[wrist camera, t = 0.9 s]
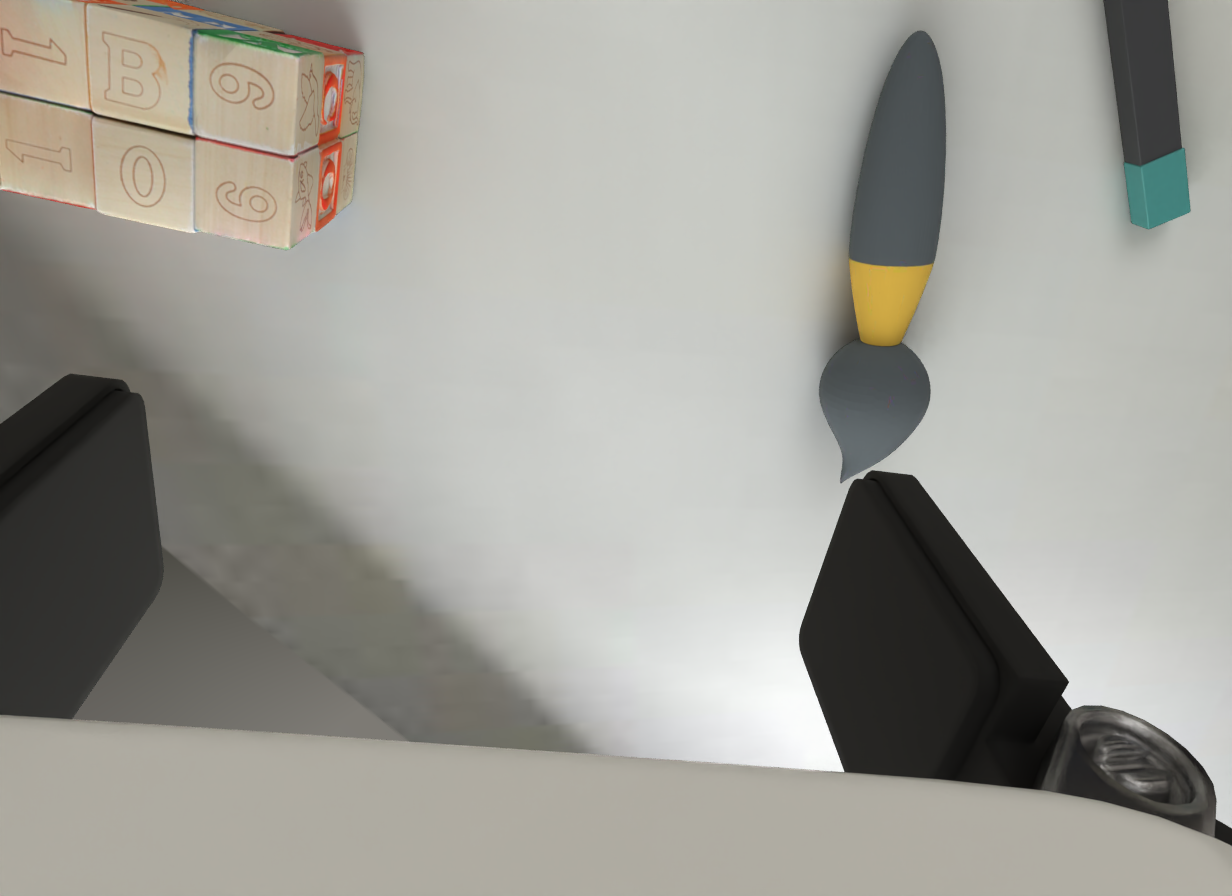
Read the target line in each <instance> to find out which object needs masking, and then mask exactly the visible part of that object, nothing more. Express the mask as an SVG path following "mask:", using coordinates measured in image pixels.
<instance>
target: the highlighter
mask: <svg viewBox="0 0 1232 896" xmlns="http://www.w3.org/2000/svg"><path fill="white" fill-rule="evenodd" d="M1104 6H1105V14H1106V21H1107V29H1108V37H1109V45H1110V52H1111V60H1112V68H1113V75H1114V83H1115V91H1116V98H1117V106H1118V114H1119V122H1120V129H1121V137H1122V145H1123V152H1124V160H1125V162H1124V169H1125V177H1126V184H1127V192H1128V200H1129V207H1130V215H1131V222H1132V224H1135V225H1138V226H1141V227H1143V228H1146V229H1151V228H1153V227H1156V226H1158V225H1161V224H1163V223H1165V222H1168V221H1170V220H1173V219H1175V218H1177V217H1180V216H1182V215H1185V214H1187V213H1189V212H1190V200H1189V189H1188V179H1187V168H1186V158H1185V149H1184V148H1182V144H1181V134H1180V124H1179V113H1178V103H1177V92H1176V82H1175V72H1174V61H1173V51H1172V40H1171V30H1170V20H1169V9H1168V0H1104Z"/></svg>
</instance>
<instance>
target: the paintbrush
mask: <svg viewBox="0 0 1232 896" xmlns="http://www.w3.org/2000/svg"><path fill="white" fill-rule="evenodd" d="M945 159H946V117H945V96H944V85H943V77H942V71H941V66H940V61H939V57H938V54H937V51H936V48H935V45H934V43H933V41H932V39H931V38H930V36H929V35H928V34H927V33H926V32H924V31H916V32H915V33H913V34H912V35H911V36H910V37H909V38H908V39H907V40H906V41H905V43H904V44H903V46H902V47H901V49H900V50H899V52H898V54H897V56H896V58H895V60H894V62H893V64H892V66H891V68H890V71H889V73H888V75H887V78H886V80H885V83H884V86H883V89H882V92H881V95H880V98H879V101H878V104H877V107H876V111H875V114H874V118H873V121H872V125H871V129H870V133H869V137H868V141H867V145H866V149H865V153H864V158H863V162H862V167H861V172H860V177H859V181H858V187H857V193H856V199H855V205H854V211H853V218H852V226H851V234H850V245H849V267H850V276H851V285H852V293H853V300H854V307H855V313H856V319H857V325H858V330H859V335H860V339H857V340H855V341H853V342H850V343H849V344H847V345H845V346H844V347H843V348H841V349H840V350H839V351H838V352H837V353H836V354H835V355H834V356H833V357H832V358H831V359H830V361H829V362H828V363H827V365H826V367H825V369H824V371H823V373H822V376H821V380H820V386H819V397H820V403H821V406H822V409H823V413H824V415H825V417H826V419H827V422H828V424H829V426H830V428H831V430H832V432H833V434H834V435H835V437H836V439H837V441H838V444H839V446H840V449H841V452H842V457H843V463H842V471H841V478H840V483H842V482H843V481H845V480H846V479H848V478H850V477H852V476H854V475H856V474H858V473H860V472H862V471H863V470H865V469H867V468H869V467H871V466H873V465H875V464H876V463H878V462H880V461H881V460H883V459H884V458H886V457H887V456H888V455H890V454H891V453H892V452H893V451H895V450H896V449H897V448H898V447H899V446H900V445H901V444H902V443H903V442H904V441H905V440H906V439H907V438H908V437H909V436H910V435H911V433H912V432H913V431H914V430H915V428H916V427H917V426H918V425H919V423H920V422H921V420H922V418H923V417H924V415H925V413H926V410H927V408H928V405H929V401H930V391H931V390H930V382H929V377H928V374H927V371H926V369H925V367H924V365H923V364H922V362H921V360H920V359H919V358H918V357H917V355H916V354H915V353H914V352H913V351H912V350H911V349H909V348H908V347H907V346H905V345H904V344H902V343H901V341H902V339H903V337H904V335H905V332H906V330H907V328H908V326H909V324H910V322H911V319H912V317H913V315H914V313H915V310H916V308H917V305H918V303H919V301H920V298H921V296H922V294H923V291H924V289H925V286H926V283H927V281H928V278H929V275H930V273H931V270H932V267H933V264H934V260H935V256H936V251H937V245H938V239H939V232H940V224H941V216H942V206H943V195H944V182H945Z"/></svg>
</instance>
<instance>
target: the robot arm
mask: <svg viewBox="0 0 1232 896" xmlns="http://www.w3.org/2000/svg"><path fill="white" fill-rule="evenodd" d="M163 572H164V567H163V557H162V548H161V540H160V531H159V523H158V514H157V506H156V497H155V489H154V480H153V472H152V463H151V455H150V446H149V438H148V429H147V421H146V412H145V405H144V401H143V399H142V397H141V395H139V394H138V393H131V392H130V390H129V388H128V386H127V384H126V383H125V382H124V381H123V380H118V379H110V378H102V377H93V376H85V375H77V374H69V375H67V376H64V377H63V378H62V379H60V380H59V381H58V382H56V383H55V384H54V385H52V386H51V387H50V388H48V389H47V390H46V391H44V392H43V393H42V394H40V395H39V396H38V397H36V398H35V399H34V400H32V401H31V402H30V403H28V404H27V405H25V406H24V407H23V408H21V409H20V410H19V411H17V412H16V413H15V414H13V415H12V416H11V417H9V418H8V419H7V420H5V421H4V422H3V423H1V424H0V896H1232V829H1231V828H1230V827H1228V826H1226V825H1225V824H1223V823H1221V822H1220V821H1218V820H1216V795H1215V790H1214V786H1213V783H1212V781H1211V780H1210V778H1209V776H1208V775H1207V773H1206V771H1205V770H1204V768H1203V766H1202V765H1201V764H1200V763H1199V762H1198V761H1197V760H1196V759H1195V758H1194V757H1193V756H1192V755H1191V753H1190V752H1189V751H1188V750H1187V749H1186V748H1184V747H1183V746H1182V745H1181V744H1179V743H1178V742H1177V741H1176V740H1174V739H1173V738H1172V737H1170V736H1169V735H1168V734H1167V733H1165V732H1163V731H1162V730H1160V729H1158V728H1157V727H1155V726H1153V725H1152V724H1150V723H1148V722H1147V721H1145V720H1143V719H1140V718H1138V717H1136V716H1133V715H1131V714H1129V713H1126V712H1124V711H1121V710H1117V709H1113V708H1109V707H1105V706H1085V705H1084V706H1081V707H1078V708H1076V709H1073V710H1072V709H1071V708H1070V707H1069V705H1068V704H1067V703H1066V701H1065V700H1064V698H1063V697H1062V696H1061V695H1062V693H1063V692H1064V690H1065V688H1066V686H1067V685H1068V683H1069V681H1068V680H1067V678H1066V677H1065V676H1064V674H1063V673H1062V672H1061V670H1060V669H1059V668H1058V666H1057V665H1056V664H1055V662H1054V661H1053V660H1052V658H1051V657H1050V656H1049V654H1048V653H1047V652H1046V650H1045V649H1044V648H1043V646H1042V645H1041V644H1040V642H1039V641H1038V640H1037V638H1036V637H1035V636H1034V634H1033V633H1032V632H1031V630H1030V629H1029V628H1028V627H1027V625H1026V624H1025V623H1024V621H1023V620H1022V619H1021V617H1020V616H1019V615H1018V613H1017V612H1016V611H1015V609H1014V608H1013V607H1012V605H1011V604H1010V603H1009V601H1008V600H1007V599H1006V597H1005V596H1004V595H1003V593H1002V592H1001V591H1000V589H999V588H998V587H997V585H996V584H995V583H994V581H993V580H992V579H991V577H990V576H989V575H988V573H987V572H986V571H985V569H984V568H983V567H982V565H981V564H980V563H979V561H978V560H977V559H976V557H975V556H974V555H973V553H972V552H971V551H970V549H969V548H968V547H967V545H966V544H965V543H964V541H963V540H962V539H961V537H960V536H959V535H958V533H957V532H956V531H955V529H954V528H953V527H952V525H951V524H950V523H949V521H948V520H947V519H946V517H945V516H944V515H943V513H942V512H941V511H940V509H939V508H938V507H937V505H936V504H935V503H934V501H933V500H932V499H931V497H930V496H929V495H928V493H927V492H926V491H925V489H924V488H923V487H922V485H921V484H920V483H919V481H918V480H917V479H916V478H915V477H914V476H913V475H907V474H898V473H890V472H882V471H873V470H872V471H870V472H868V473H867V474H866V476H865V477H864V479H856V480H854V482H853V483H852V484H851V486H850V488H849V491H848V494H847V497H846V499H845V502H844V505H843V508H842V511H841V514H840V516H839V519H838V522H837V525H836V528H835V531H834V533H833V536H832V539H831V542H830V545H829V548H828V550H827V553H826V556H825V559H824V562H823V565H822V567H821V570H820V573H819V576H818V579H817V582H816V585H815V587H814V590H813V593H812V596H811V599H810V602H809V604H808V607H807V610H806V613H805V616H804V619H803V621H802V624H801V628H800V634H799V646H800V652H801V655H802V658H803V660H804V663H805V666H806V669H807V671H808V674H809V677H810V679H811V682H812V685H813V687H814V690H815V693H816V696H817V698H818V701H819V704H820V706H821V709H822V712H823V715H824V717H825V720H826V723H827V725H828V728H829V731H830V733H831V736H832V739H833V742H834V744H835V747H836V750H837V752H838V755H839V758H840V760H841V763H842V766H843V769H844V771H845V772H833V771H819V770H806V769H792V768H779V767H765V766H752V765H739V764H725V763H711V762H696V761H682V760H667V759H653V758H638V757H624V756H609V755H594V754H580V753H565V752H551V751H536V750H522V749H507V748H493V747H478V746H463V745H449V744H434V743H420V742H405V741H390V740H375V739H362V738H347V737H332V736H318V735H304V734H290V733H275V732H260V731H246V730H231V729H215V728H199V727H183V726H168V725H152V724H137V723H121V722H106V721H90V720H73V719H72V718H73V717H74V715H75V714H76V713H77V711H78V710H79V708H80V707H81V705H82V704H83V702H84V701H85V699H86V698H87V697H88V695H89V694H90V692H91V691H92V689H93V687H94V686H95V685H96V683H97V682H98V680H99V679H100V678H101V676H102V675H103V673H104V672H105V670H106V669H107V667H108V666H109V664H110V663H111V662H112V660H113V659H114V657H115V655H116V654H117V653H118V651H119V650H120V649H121V647H122V645H123V644H124V643H125V641H126V640H127V638H128V637H129V635H130V634H131V633H132V631H133V630H134V628H135V627H136V625H137V624H138V622H139V621H140V619H141V618H142V616H143V615H144V614H145V612H146V610H147V609H148V608H149V606H150V605H151V603H152V602H153V601H154V599H155V598H156V596H157V594H158V592H159V590H160V587H161V584H162V580H163Z"/></svg>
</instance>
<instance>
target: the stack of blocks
mask: <svg viewBox="0 0 1232 896" xmlns="http://www.w3.org/2000/svg"><path fill="white" fill-rule="evenodd" d="M363 78H364V53H362V52H359V51H355V50H350V49H346V48H342V47H338V46H334V45H330V44H326V43H322V42H318V41H313V40H310V39H306V38H301V37H298V36H294V35H287V34H285V33H284V31H283V30H280V29H276V28H272V27H269V26H265V25H261V24H257V23H253V22H249V21H246V20H242V19H238V18H234V17H230V16H226V15H222V14H218V13H214V12H209V11H205V10H203V9H200V8H196V7H193V6H189V5H185V4H181V3H177V2H173V1H170V0H0V189H1V190H4V191H9V192H13V193H18V194H23V195H27V196H32V197H37V198H42V199H46V200H51V201H56V202H61V203H65V204H70V205H74V206H79V207H84V208H89V209H95V210H97V211H98V212H99V213H101V214H105V215H109V216H114V217H118V218H123V219H127V220H132V221H136V222H141V223H145V224H150V225H155V226H160V227H165V228H169V229H174V230H179V231H184V232H189V233H196V232H199V231H201V232H205V233H209V234H213V235H217V236H222V237H227V238H232V239H237V240H241V241H245V242H250V243H255V244H260V245H264V246H269V247H274V248H278V249H283V250H290V249H291V248H292V247H294V246H295V245H297V244H298V243H299V242H301V241H302V240H303V239H304V238H305V237H307V236H309V235H310V234H311V233H312V232H317V231H319V230H320V229H321V228H322V227H324V226H325V225H326V224H327V223H328V222H330V221H331V220H332V219H333V218H334V217H335V215H337V214H338V213H339V212H340V211H342V210H343V209H344V208H345V207H346V206H347V205H348V204H350V203H351V201H352V194H353V182H354V171H355V160H356V150H357V139H358V129H359V122H360V113H361V104H362V91H363Z"/></svg>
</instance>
